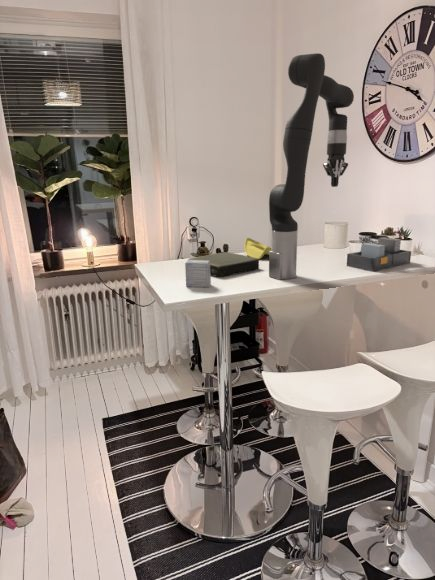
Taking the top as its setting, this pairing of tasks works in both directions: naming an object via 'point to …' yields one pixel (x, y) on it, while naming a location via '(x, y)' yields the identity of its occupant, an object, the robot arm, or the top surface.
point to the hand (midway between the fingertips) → (334, 186)
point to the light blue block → (372, 250)
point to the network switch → (229, 263)
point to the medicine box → (197, 273)
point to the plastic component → (256, 249)
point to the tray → (390, 258)
